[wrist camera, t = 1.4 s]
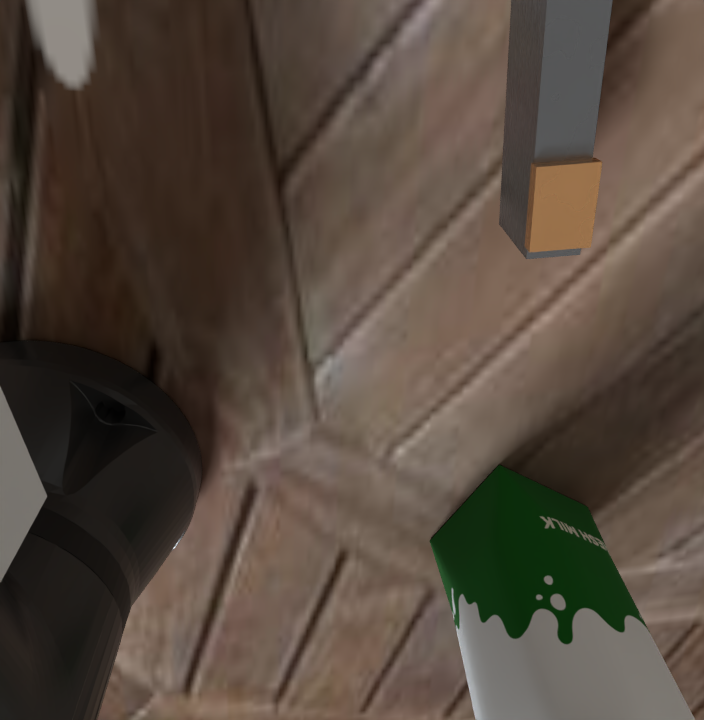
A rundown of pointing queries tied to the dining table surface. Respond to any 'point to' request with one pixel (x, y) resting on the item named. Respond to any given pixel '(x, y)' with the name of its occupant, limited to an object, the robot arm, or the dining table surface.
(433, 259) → the dining table surface
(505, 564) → the milk carton
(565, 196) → the bar
